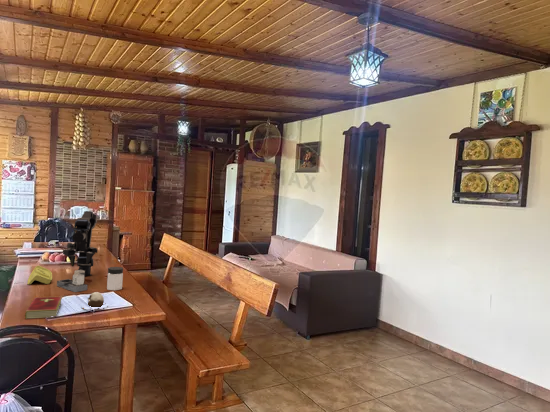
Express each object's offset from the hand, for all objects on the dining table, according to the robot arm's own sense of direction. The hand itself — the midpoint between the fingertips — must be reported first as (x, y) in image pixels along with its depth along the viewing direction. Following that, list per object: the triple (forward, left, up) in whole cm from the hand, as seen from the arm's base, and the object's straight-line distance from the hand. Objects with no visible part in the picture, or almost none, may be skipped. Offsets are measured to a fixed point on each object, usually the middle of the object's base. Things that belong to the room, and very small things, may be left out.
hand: (80, 265), depth 233 cm
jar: (-6, +25, -10) cm, 28 cm away
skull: (+22, +47, -11) cm, 53 cm away
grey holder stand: (+10, +9, -10) cm, 17 cm away
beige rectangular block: (0, 0, -10) cm, 10 cm away
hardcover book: (+40, +36, -11) cm, 55 cm away
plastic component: (+14, -16, -11) cm, 24 cm away
